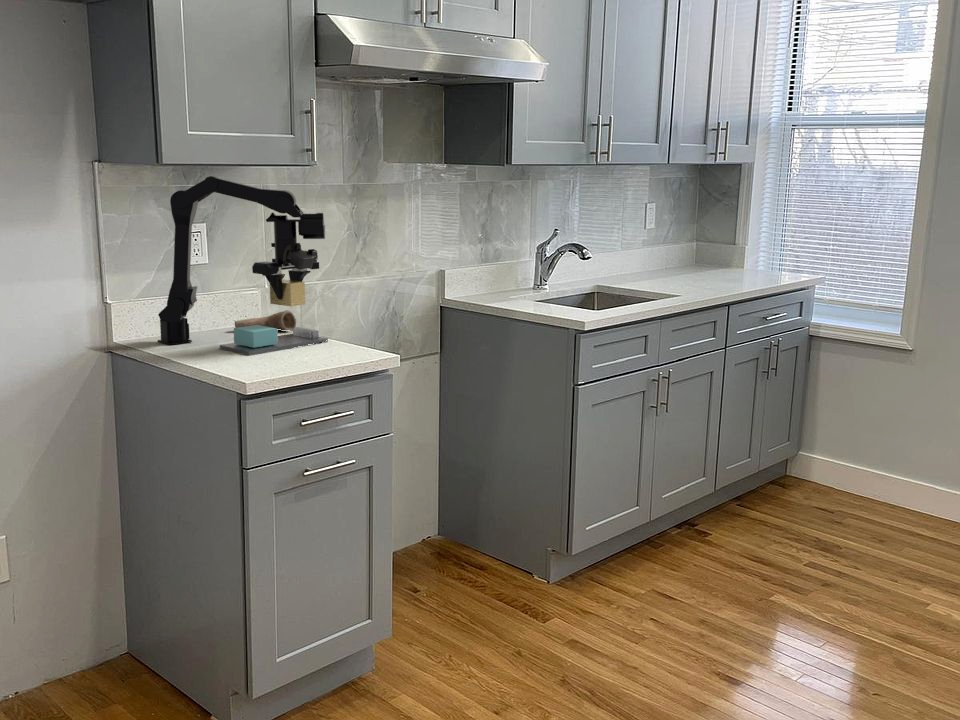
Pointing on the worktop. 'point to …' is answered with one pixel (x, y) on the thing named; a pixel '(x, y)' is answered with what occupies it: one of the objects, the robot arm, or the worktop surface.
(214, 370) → the worktop surface
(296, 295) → the brass block
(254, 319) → the pipe
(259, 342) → the slide jaw
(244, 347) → the vise
